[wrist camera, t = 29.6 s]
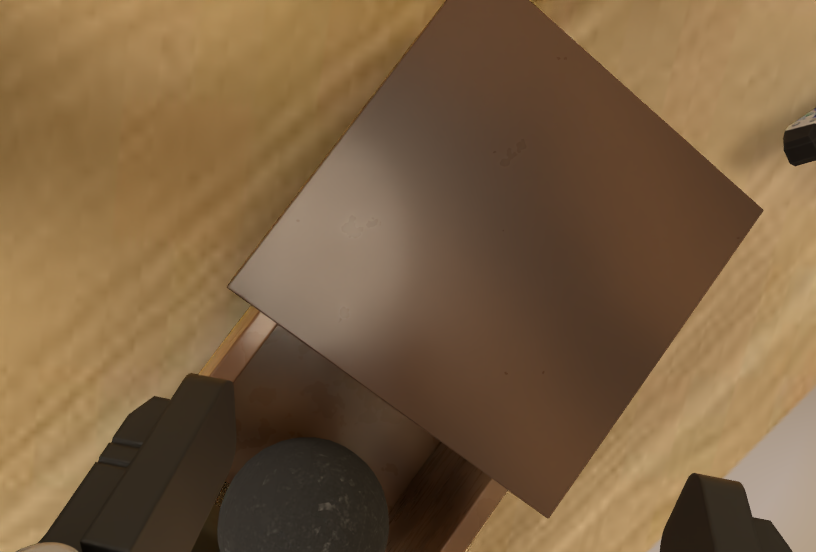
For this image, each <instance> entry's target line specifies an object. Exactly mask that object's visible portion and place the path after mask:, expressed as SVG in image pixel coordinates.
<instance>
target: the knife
mask: <svg viewBox="0 0 816 552" xmlns="http://www.w3.org/2000/svg"><path fill="white" fill-rule="evenodd" d="M783 143H784V152H785V154H786V156H787V158H788V161H789V163H790V164H792V165H794V166H798V165H801V164H805V163H808V162H812V161H816V108H815V109H813V110H812V111H810V112H809V113H807V114H806V115H804V116H803V117H801V118H800V119H798V120H797V121H795V122H794V123H792V124H791V125H789V126H788V127H787V128H786V130H785V133H784V138H783Z"/></svg>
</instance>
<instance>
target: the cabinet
mask: <svg viewBox="0 0 816 552" xmlns="http://www.w3.org/2000/svg"><path fill="white" fill-rule="evenodd" d="M762 212H763V209H762V208H761V207H760V206H758V205H757V204H756V203H755V202H754V201H753V200H752V199H751V198H749V197H748V196H747V195H746V194H745V193H744V192H743V191H742V190H741V189H739V188H738V187H737V186H736V185H735V184H734V183H733V182H732V181H730V180H729V179H728V178H727V177H726V176H725V175H724V174H723V173H722V172H720V171H719V170H718V169H717V168H716V167H715V166H714V165H713V164H711V163H710V162H709V161H708V160H707V159H706V158H705V157H704V156H703V155H701V154H700V153H699V152H698V151H697V150H696V149H695V148H694V147H692V146H691V145H690V144H689V143H688V142H687V141H686V140H685V139H684V138H682V137H681V136H680V135H679V134H678V133H677V132H676V131H675V130H673V129H672V128H671V127H670V126H669V125H668V124H667V123H666V122H665V121H663V120H662V119H661V118H660V117H659V116H658V115H657V114H656V113H654V112H653V111H652V110H651V109H650V108H649V107H648V106H647V105H646V104H644V103H643V102H642V101H641V100H640V99H639V98H638V97H637V96H635V95H634V94H633V93H632V92H631V91H630V90H629V89H628V88H627V87H625V86H624V85H623V84H622V83H621V82H620V81H619V80H618V79H616V78H615V77H614V76H613V75H612V74H611V73H610V72H609V71H608V70H606V69H605V68H604V67H603V66H602V65H601V64H600V63H599V62H597V61H596V60H595V59H594V58H593V57H592V56H591V55H590V54H589V53H587V52H586V51H585V50H584V49H583V48H582V47H581V46H580V45H578V44H577V43H576V42H575V41H574V40H573V39H572V38H571V37H569V36H568V35H567V34H566V33H565V32H564V31H563V30H562V29H561V28H559V27H558V26H557V25H556V24H555V23H554V22H553V21H552V20H550V19H549V18H548V17H547V16H546V15H545V14H544V13H543V12H542V11H540V10H539V9H538V8H537V7H536V6H535V5H534V4H533V3H531V2H530V1H529V0H446V1H445V2H444V3H443V5H442V6H441V7H440V9H439V10H438V11H437V13H436V14H435V15H434V16H433V18H432V19H431V20H430V22H429V23H428V24H427V25H426V27H425V28H424V29H423V31H422V32H421V33H420V34H419V36H418V37H417V38H416V40H415V41H414V42H413V44H412V45H411V46H410V47H409V49H408V50H407V51H406V53H405V54H404V55H403V57H402V58H401V59H400V61H399V62H398V63H397V64H396V66H395V67H394V68H393V70H392V71H391V72H390V74H389V75H388V76H387V77H386V79H385V80H384V81H383V83H382V84H381V85H380V87H379V88H378V89H377V90H376V92H375V93H374V94H373V96H372V97H371V98H370V100H369V101H368V102H367V104H366V105H365V106H364V107H363V109H362V110H361V111H360V113H359V114H358V115H357V117H356V118H355V119H354V120H353V122H352V123H351V124H350V126H349V127H348V128H347V130H346V131H345V132H344V134H343V135H342V136H341V137H340V139H339V140H338V141H337V143H336V144H335V145H334V147H333V148H332V149H331V150H330V152H329V153H328V154H327V156H326V157H325V158H324V160H323V161H322V162H321V164H320V165H319V166H318V167H317V169H316V170H315V171H314V173H313V174H312V175H311V177H310V178H309V179H308V180H307V182H306V183H305V184H304V186H303V187H302V188H301V190H300V191H299V192H298V193H297V195H296V196H295V197H294V199H293V200H292V201H291V203H290V204H289V205H288V207H287V208H286V209H285V210H284V212H283V213H282V214H281V216H280V217H279V218H278V220H277V221H276V222H275V223H274V225H273V226H272V227H271V229H270V230H269V231H268V233H267V234H266V235H265V237H264V238H263V239H262V240H261V242H260V243H259V244H258V246H257V247H256V248H255V250H254V251H253V252H252V253H251V255H250V256H249V257H248V259H247V260H246V261H245V263H244V264H243V265H242V267H241V268H240V269H239V270H238V272H237V273H236V274H235V276H234V277H233V279H232V280H231V281H230V283H229V284H228V286H227V288H228V289H229V290H231V291H232V292H234V293H235V294H236V295H238V296H239V297H241V298H242V299H243V300H245V301H246V302H248V303H249V304H250V305H252V306H253V307H254V308H256V309H257V310H259V311H260V312H261V313H263V314H264V315H266V316H267V317H268V318H270V319H271V320H273V321H274V322H275V323H277V324H278V325H279V326H281V327H282V328H284V329H285V330H286V331H288V332H289V333H291V334H292V335H293V336H295V337H296V338H298V339H299V340H300V341H302V342H303V343H304V344H306V345H307V346H309V347H310V348H311V349H313V350H314V351H316V352H317V353H318V354H320V355H321V356H323V357H324V358H325V359H327V360H328V361H329V362H331V363H332V364H334V365H335V366H336V367H338V368H339V369H341V370H342V371H343V372H345V373H346V374H348V375H349V376H350V377H352V378H353V379H354V380H356V381H357V382H359V383H360V384H361V385H363V386H364V387H366V388H367V389H368V390H370V391H371V392H373V393H374V394H375V395H377V396H378V397H379V398H381V399H382V400H384V401H385V402H386V403H388V404H389V405H391V406H392V407H393V408H395V409H396V410H397V411H399V412H400V413H402V414H403V415H404V416H406V417H407V418H409V419H410V420H411V421H413V422H414V423H416V424H417V425H418V426H420V427H421V428H422V429H424V430H425V431H427V432H428V433H429V434H431V435H432V436H434V437H435V438H436V439H438V440H439V441H441V442H442V443H443V444H445V445H446V446H447V447H449V448H450V449H452V450H453V451H454V452H456V453H457V454H459V455H460V456H461V457H463V458H464V459H466V460H467V461H468V462H470V463H471V464H472V465H474V466H475V467H477V468H478V469H479V470H481V471H482V472H484V473H485V474H486V475H488V476H489V477H491V478H492V479H493V480H495V481H496V482H497V483H499V484H500V485H502V486H503V487H504V488H506V489H507V490H509V491H510V492H511V493H513V494H514V495H516V496H517V497H518V498H520V499H521V500H522V501H524V502H525V503H527V504H528V505H529V506H531V507H532V508H534V509H535V510H536V511H538V512H539V513H541V514H542V515H543V516H545V517H546V518H549V517H550V516H551V514H552V513H553V512H554V510H555V509H556V507H557V506H558V504H559V503H560V502H561V500H562V499H563V497H564V496H565V494H566V493H567V492H568V490H569V489H570V487H571V486H572V484H573V483H574V481H575V480H576V479H577V477H578V476H579V474H580V473H581V471H582V470H583V469H584V467H585V466H586V464H587V463H588V461H589V460H590V459H591V457H592V456H593V454H594V453H595V451H596V450H597V449H598V447H599V446H600V444H601V443H602V441H603V440H604V438H605V437H606V436H607V434H608V433H609V431H610V430H611V428H612V427H613V426H614V424H615V423H616V421H617V420H618V418H619V417H620V416H621V414H622V413H623V411H624V410H625V408H626V407H627V405H628V404H629V403H630V401H631V400H632V398H633V397H634V395H635V394H636V393H637V391H638V390H639V388H640V387H641V385H642V384H643V383H644V381H645V380H646V378H647V377H648V375H649V374H650V373H651V371H652V370H653V368H654V367H655V365H656V364H657V362H658V361H659V360H660V358H661V357H662V355H663V354H664V352H665V351H666V350H667V348H668V347H669V345H670V344H671V342H672V341H673V340H674V338H675V337H676V335H677V334H678V332H679V331H680V330H681V328H682V327H683V325H684V324H685V322H686V321H687V319H688V318H689V317H690V315H691V314H692V312H693V311H694V309H695V308H696V307H697V305H698V304H699V302H700V301H701V299H702V298H703V297H704V295H705V294H706V292H707V291H708V289H709V288H710V286H711V285H712V284H713V282H714V281H715V279H716V278H717V276H718V275H719V274H720V272H721V271H722V269H723V268H724V266H725V265H726V264H727V262H728V261H729V259H730V258H731V256H732V255H733V254H734V252H735V251H736V249H737V248H738V246H739V245H740V243H741V242H742V241H743V239H744V238H745V236H746V235H747V233H748V232H749V231H750V229H751V228H752V226H753V225H754V223H755V222H756V221H757V219H758V218H759V216H760V215H761V213H762Z"/></svg>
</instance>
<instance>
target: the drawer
mask: <svg viewBox="0 0 816 552" xmlns="http://www.w3.org/2000/svg"><path fill="white" fill-rule="evenodd" d="M199 375H204V376H209V377H214V378H219V379H224V380H230V381H232V382H233V385H234V397H235V418H236V450H235V455H234V459H233V463H232V466H231V469H230V472H229V474H228V476H227V478H226V480H225V482H227V483H228V484H231V482H232V480H233V478H234V476H235V475H236V474H237V473H238V472H239V470H240V469H241V468H242V467H243V466H244V465H245V464H246V462H247V461H248V460H250V459H251V458H252V457H254V456H255V455H256V454H258V453H259V452H260V451H262V450H263V449H264V448H266V447H269V446H271V445H274V444H276V443H278V442H280V441H283V440H288V439H292V438H298V437H316V438H321V439H326V440H331V441H333V442H335V443H338V444H340V445H343V446H345V447H346V448H348V449H349V450H351V451H352V452H354V453H355V454H357V455H358V456H359V457H360V458H361V459H362V460H363V461H364V462H366V463H367V465H368V466H369V467H370V468H371V470H372V471H373V472H374V473H375V475H376V477H377V479H378V481H379V482H380V484H381V486H382V489H383V491H384V495H385V499H386V502H387V507H388V516H389V534H388V541H387V546H386V550H385V552H464V551H465V550H466V549H467V547H468V546H469V544H470V543H471V542H472V540H473V539H474V537H475V536H476V534H477V533H478V532H479V530H480V529H481V527H482V526H483V525H484V523H485V522H486V520H487V519H488V517H489V516H490V515H491V513H492V512H493V510H494V509H495V508H496V506H497V505H498V503H499V502H500V500H501V499H502V498H503V496H504V495H505V493H506V492H507V491H508V490H507V489H506V488H504V487H503V486H502V485H500V484H499V483H497V482H496V481H495V480H493V479H492V478H491V477H489V476H488V475H486V474H485V473H484V472H482V471H481V470H479V469H478V468H477V467H475V466H474V465H472V464H471V463H470V462H468V461H467V460H466V459H464V458H463V457H461V456H460V455H459V454H457V453H456V452H454V451H453V450H452V449H450V448H449V447H447V446H446V445H445V444H443V443H442V442H441V441H439V440H438V439H436V438H435V437H434V436H432V435H431V434H429V433H428V432H427V431H425V430H424V429H422V428H421V427H420V426H418V425H417V424H416V423H414V422H413V421H411V420H410V419H409V418H407V417H406V416H404V415H403V414H402V413H400V412H399V411H397V410H396V409H395V408H393V407H392V406H391V405H389V404H388V403H386V402H385V401H384V400H382V399H381V398H379V397H378V396H377V395H375V394H374V393H373V392H371V391H370V390H368V389H367V388H366V387H364V386H363V385H361V384H360V383H359V382H357V381H356V380H354V379H353V378H352V377H350V376H349V375H348V374H346V373H345V372H343V371H342V370H341V369H339V368H338V367H336V366H335V365H334V364H332V363H331V362H329V361H328V360H327V359H325V358H324V357H323V356H321V355H320V354H318V353H317V352H316V351H314V350H313V349H311V348H310V347H309V346H307V345H306V344H304V343H303V342H302V341H300V340H299V339H298V338H296V337H295V336H293V335H292V334H291V333H289V332H288V331H286V330H285V329H284V328H282V327H281V326H279V325H278V324H277V323H275V322H274V321H273V320H271V319H270V318H268V317H267V316H266V315H264V314H263V313H261V312H260V311H259V310H257V309H256V308H254V307H253V306H252V305H251V306H250V307H249V308H248V310H247V311H246V312H245V314H244V315H243V316H242V317H241V319H240V320H239V321H238V323H237V324H236V325H235V327H234V328H233V329H232V331H231V332H230V333H229V335H228V336H227V337H226V338H225V340H224V341H223V342H222V344H221V345H220V346H219V348H218V349H217V350H216V352H215V353H214V354H213V356H212V357H211V358H210V359H209V361H208V362H207V363H206V365H205V366H204V367H203V369H202V370H201V371H200V373H199ZM219 511H220V507H219V506H217V505H216V504H214V505H213V507H212V509H211V511H210V513H209V515H208V518H207V520H206V522H205V524H204V526H203V528H202V530H201V532H200V534H199V536H198V538H197V540H196V542H195V544H194V546H193V548H192V551H191V552H220V549H219V545H218V535H217V528H218V519H219Z"/></svg>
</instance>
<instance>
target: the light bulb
mask: <svg viewBox="0 0 816 552" xmlns="http://www.w3.org/2000/svg"><path fill="white" fill-rule="evenodd" d="M388 534H389V516H388V507H387V502H386V499H385V495H384V491H383V489H382V486H381V484H380V482H379V481H378V479H377V477H376V475H375V473H374V472H373V471H372V470H371V468H370V467H369V466H368V465H367V463H366V462H364V461H363V460H362V459H361V458H360V457H359V456H358V455H357V454H355V453H354V452H352V451H351V450H349V449H348V448H346V447H345V446H343V445H340V444H338V443H335V442H333V441H331V440H326V439H321V438H316V437H298V438H292V439H288V440H283V441H280V442H278V443H276V444H274V445H271V446H269V447H266V448H264V449H263V450H262V451H260V452H259V453H258V454H256V455H255V456H254V457H252V458H251V459H250V460H248V461H247V462H246V464H245V465H244V466H243V467H242V468H241V469H240V470H239V472H238V473H237V474H236V475H235V476H234V478H233V480H232V482H231V484H230V485H229V487H228V489H227V491H226V493H225V496H224V498H223V501H222V504H221V507H220V511H219V519H218V528H217V535H218V545H219V549H220V552H385V550H386V546H387V541H388Z"/></svg>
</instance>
